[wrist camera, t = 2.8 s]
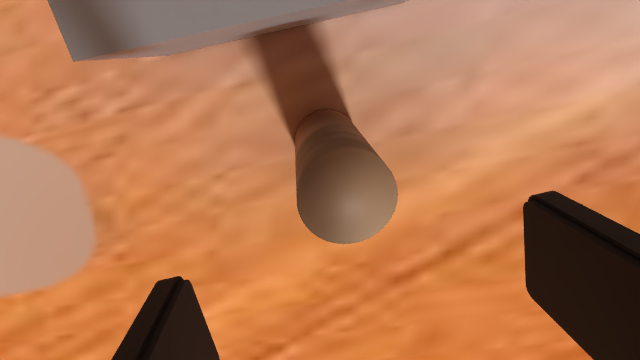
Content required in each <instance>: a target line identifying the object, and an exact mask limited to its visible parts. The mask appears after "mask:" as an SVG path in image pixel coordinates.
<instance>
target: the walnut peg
mask: <svg viewBox="0 0 640 360" xmlns="http://www.w3.org/2000/svg"><path fill="white" fill-rule="evenodd" d="M295 160H296V190H297V207H298V211H299V214H300V217H301V219H302V221H303V222H304V224H305V225H306V227H307V228H308V229H309V230H310V231H311V232H312V233H314V234H315V235H316V236H318V237H319V238H321V239H324V240H326V241H329V242H332V243H337V244H351V243H357V242H360V241H363V240H366V239H368V238H370V237H372V236H374V235H375V234H377V233H378V232H379V231H380V230H381V229H383V228H384V227H385V225H386V224H387V223H388V222H389V220H390V219H391V217H392V215H393V213H394V210H395V208H396V204H397V195H398V193H397V185H396V181H395V179H394V176H393V174H392V172H391V171H390V169H389V168H388V167H387V165H386V164H385V163H384V162H383V160H382V159H381V158H380V157H379V156H378V154H377V153H376V152H375V151H374V149H373V148H372V147H371V146H370V144H369V143H368V142H367V141H366V139H365V138H364V137H363V136H362V134H361V133H360V132H359V131H358V130H357V128H356V127H355V126H354V125H353V123H352V122H351V121H350V120H349V119H348V118H347V117H346V116H345V115H344V114H342V113H340V112H338V111H336V110H331V109H322V110H317V111H314V112H312V113H310V114H309V115H307V116H306V117H305V118H304V119H303V120H302V121H301V123H300V124H299V126H298V128H297V130H296V134H295Z"/></svg>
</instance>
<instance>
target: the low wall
mask: <svg viewBox="0 0 640 360" xmlns="http://www.w3.org/2000/svg"><path fill="white" fill-rule="evenodd" d="M406 1H408V0H48V2H49V5H50V7H51V10H52V12H53V14H54V17H55V19H56V22H57V24H58V26H59V29H60V31H61V33H62V36H63V38H64V41H65V43H66V45H67V48H68V50H69V53H70V55H71V57H72V60H73V61H89V60H106V59H122V58H138V57H154V56H168V55H173V54H177V53H182V52H186V51H191V50H195V49H199V48H204V47H208V46H213V45H217V44H222V43H226V42H231V41H235V40H240V39H244V38H248V37H253V36H257V35H262V34H266V33H271V32H275V31H280V30H284V29H289V28H293V27H297V26H302V25H306V24H311V23H315V22H320V21H324V20H329V19H333V18H337V17H342V16H346V15H351V14H355V13H360V12H364V11H369V10H373V9H378V8H382V7H386V6H391V5H395V4H400V3H403V2H406Z"/></svg>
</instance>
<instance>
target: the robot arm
mask: <svg viewBox="0 0 640 360" xmlns="http://www.w3.org/2000/svg"><path fill="white" fill-rule="evenodd" d="M523 216H524V245H525V275H526V288H527V291H528V293H529V295H530V296H531V297H532V299H533V300H534V301H535V302H536V303H537V304H538V305H539V306H540V307H541V308H542V309H543V310H544V311H545V312H546V313H547V314H548V315H549V316H550V317H551V318H552V319H553V320H554V321H555V322H556V323H557V324H558V325H559V326H560V327H561V328H562V329H563V330H564V331H565V332H566V333H567V334H568V335H569V336H570V337H571V338H572V339H573V340H574V341H575V342H577V343H578V344H579V345H580V346H581V347H582V348H583V349H584V350H585V351H586V352H587V353H588V354H589V355H590V356H591V357H592V358H593V359H594V360H640V234H638V233H636V232H634V231H632V230H630V229H628V228H627V227H625V226H623V225H621V224H619V223H617V222H615V221H613V220H611V219H609V218H607V217H605V216H603V215H601V214H599V213H597V212H595V211H593V210H591V209H589V208H587V207H585V206H583V205H581V204H579V203H577V202H575V201H574V200H572V199H570V198H568V197H566V196H564V195H562V194H560V193H558V192H556V191H549V192H545V193H540V194H536V195H532V196H530V197H529V199H528V202H525V203H524V206H523ZM112 360H220V359H219V355H218V352H217V350H216V347H215V345H214V342H213V339H212V337H211V334H210V331H209V329H208V326H207V324H206V321H205V318H204V316H203V313H202V311H201V308H200V305H199V303H198V300H197V298H196V295H195V292H194V290H193V287H192V285H191V282H190V281H189V280H183V278H182V277H180V276H177V277H173V278H169V279H164V280H160V281H158V282H157V283H156V284H155V286H154V288H153V289H152V291H151V293H150V294H149V296H148V298H147V300H146V301H145V303H144V305H143V306H142V308H141V310H140V312H139V313H138V315H137V317H136V318H135V320H134V322H133V324H132V325H131V327H130V329H129V331H128V332H127V334H126V336H125V337H124V339H123V341H122V343H121V344H120V346H119V348H118V349H117V351H116V353H115V355H114V356H113V358H112Z"/></svg>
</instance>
